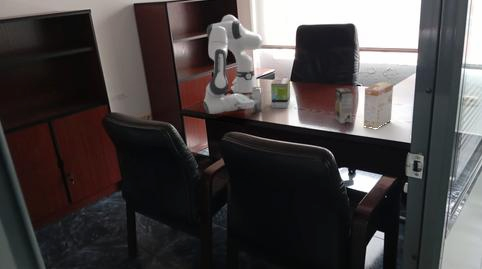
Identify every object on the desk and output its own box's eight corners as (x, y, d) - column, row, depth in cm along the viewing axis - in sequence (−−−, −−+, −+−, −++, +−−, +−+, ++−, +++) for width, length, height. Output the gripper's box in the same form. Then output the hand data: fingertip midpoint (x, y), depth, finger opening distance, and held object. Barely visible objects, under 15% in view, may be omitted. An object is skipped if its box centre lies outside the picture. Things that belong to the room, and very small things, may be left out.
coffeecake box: (378, 119, 205) (380, 81, 198) (391, 121, 200) (394, 83, 193) (362, 127, 196) (364, 88, 189) (376, 130, 191) (378, 90, 184)
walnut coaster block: (234, 108, 240) (234, 102, 239) (241, 106, 243) (240, 100, 241) (239, 110, 236) (239, 103, 235) (246, 108, 239) (245, 101, 237)
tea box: (288, 108, 234) (287, 83, 229) (271, 108, 236) (270, 83, 231) (290, 101, 247) (289, 77, 242) (274, 101, 250) (273, 77, 244)
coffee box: (334, 118, 211) (335, 88, 206) (346, 117, 212) (347, 87, 206) (340, 123, 203) (340, 92, 197) (352, 122, 203) (353, 91, 197)
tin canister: (251, 111, 232) (250, 87, 227) (259, 109, 234) (258, 86, 229) (255, 113, 228) (253, 89, 223) (263, 112, 229) (262, 88, 224)
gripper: (238, 101, 213) (262, 97, 218) (226, 93, 231) (248, 89, 236) (239, 112, 215) (262, 108, 220) (227, 103, 233) (249, 100, 238)
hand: (255, 98), depth 228 cm, fingers open, 8 cm apart
